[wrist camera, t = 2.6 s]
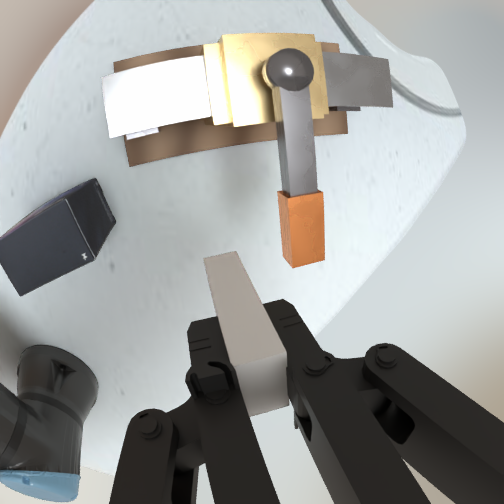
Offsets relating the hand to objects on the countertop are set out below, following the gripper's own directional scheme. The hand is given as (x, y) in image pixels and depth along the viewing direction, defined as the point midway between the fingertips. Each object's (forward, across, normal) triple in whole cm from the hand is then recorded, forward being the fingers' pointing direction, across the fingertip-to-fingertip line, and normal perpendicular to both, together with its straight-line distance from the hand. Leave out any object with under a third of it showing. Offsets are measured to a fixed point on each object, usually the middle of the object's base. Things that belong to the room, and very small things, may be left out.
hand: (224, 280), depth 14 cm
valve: (+20, -6, -10) cm, 24 cm away
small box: (+22, +16, 0) cm, 27 cm away
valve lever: (+8, -7, -4) cm, 11 cm away
